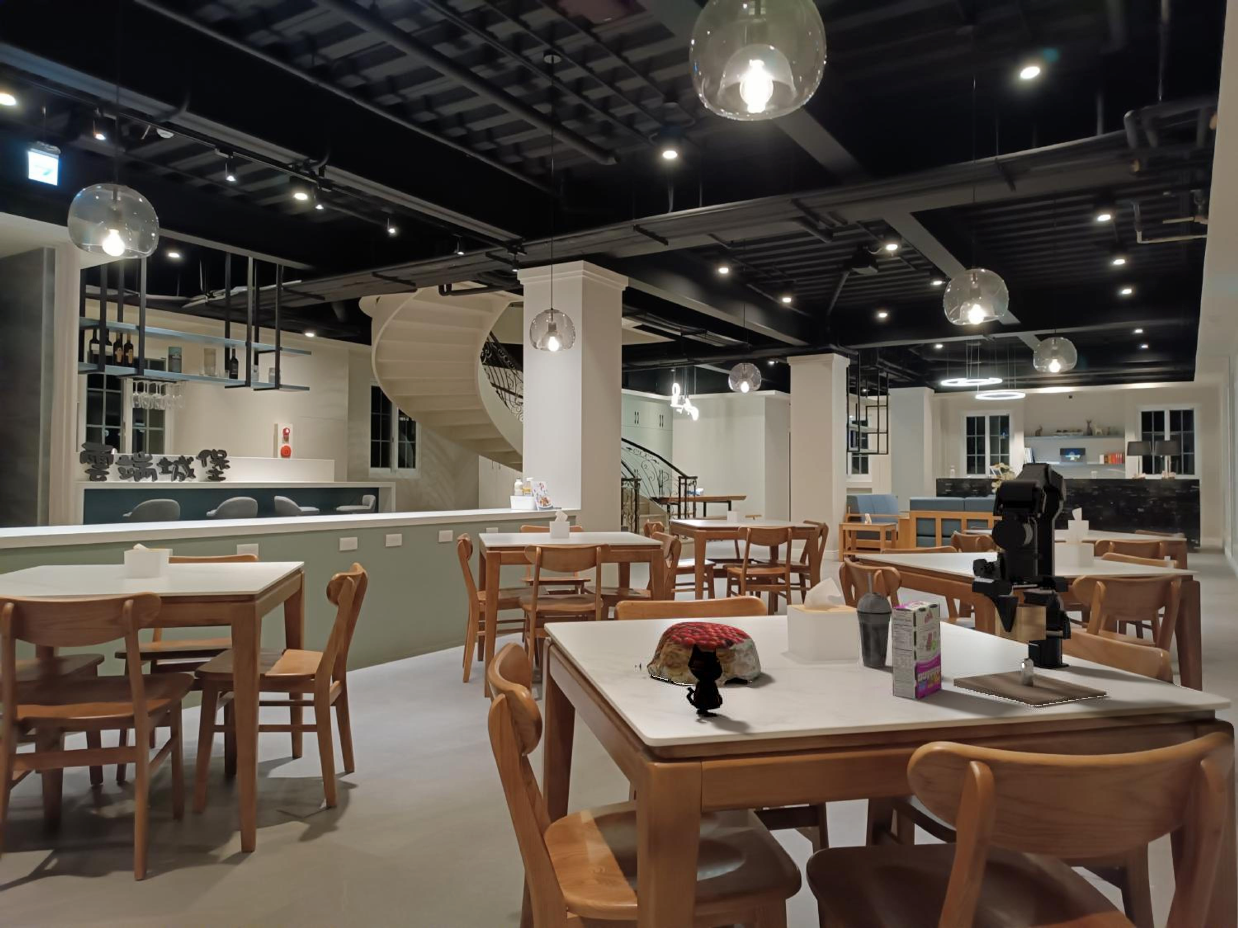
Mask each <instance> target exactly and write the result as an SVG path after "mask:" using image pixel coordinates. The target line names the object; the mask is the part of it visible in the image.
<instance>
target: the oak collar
mask: <svg viewBox="0 0 1238 928" xmlns="http://www.w3.org/2000/svg"><path fill="white" fill-rule="evenodd" d="M994 607H995V606H994ZM994 611H995V612H994V613H995V618H994V619H995V621H994V622H995V624H994V625H995V626H994V627H995V629H994V630H995V631H994V632H995V634H994V635H995V636H996V637H1000V638H1006V639H1009V640H1014V641H1020V642H1027V641H1028V642H1029V641H1031V640H1043V639H1046V607H1044V606H1038V605H1031V604H1025V603H1024V602H1019V601H1018V604H1017V609H1016V614H1015V619H1014V623H1013V627H1012V630H1011V632H1006V631H1005V630H1004V627H1003V625H1002V622H1001V619H1000V616H999V614H998V611H997V609H996V607H995V608H994Z"/></svg>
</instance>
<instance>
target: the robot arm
mask: <svg viewBox="0 0 1238 928" xmlns="http://www.w3.org/2000/svg"><path fill="white" fill-rule="evenodd" d="M1021 469H1022V470H1021V471H1019V473H1018V475H1017V476H1016V478H1014V479H1005V480H1002V481H1001V482H1000V483H999V484H1000V485H999V486H997V487H996V490H995V498H994V502H993V503H994V504H993V508H992V509H993V511H992V516H993V517H1001V519H1000V520H998V521H997V522H996V523H995V524H994V525H993V527H992V530H991V538H992V541H993V543H994V544H995V546H997V547H998V548H999V549H1002V551H997V556H996V560H992V561H988V560H987V559H986V558H976V559H974V560H973V561H972V574H973V575H974V576H975V578H973V580H972V581H971V593H976V594H982V595H983V597H986V598H988V599H989V600H990V601H991V602H992V604H993V605H994V607H996V609H997V611H998V614H999V616H1000V619H1001V622H1002V625H1003V627H1004V630H1005V631H1006V632H1011V630H1012V627H1013V623H1014V619H1015V614H1016V609H1017V604H1018V602H1019V599H1020V596H1017V595H1014V591H1019V590H1022V591H1021V593H1022V594H1023V596H1024V600H1023V603H1025V604H1031V605H1038V606H1044V607H1046V639H1043V640H1031V641H1028V643H1027V658H1029V659H1031V660H1032V661H1033V667H1034V666H1035V667H1038V668H1043V669H1047V670H1048V669H1049V670H1051V669H1059V668H1066V667H1067V668H1069V666H1070V663H1066V662H1063V640H1064V641H1066V640H1072V625H1071V620H1070V619H1071V618H1070V617H1069V616H1068V612H1067V610H1064V607H1065V606H1064V600H1063V599H1062V597H1061V596H1060V594H1059V593H1069V590H1070V589H1069V588H1070V587H1069V581H1068V580H1067V578H1066V577H1065V576H1061V575H1056V552H1055V551H1056V549H1055V548H1056V547H1055V546H1056V545H1055V543H1056V541H1055V540H1056V539H1055V538H1056V537H1055V535H1056V534H1055V533H1056V532H1055V531H1056V529H1055V527H1056V526H1055V524H1056V520H1057V517H1058V516H1059V515H1060V514H1061V512H1062V510H1063V508H1064V502H1066V500H1067V486H1066V483H1065V479H1064V476H1063V475H1061V474H1060V473H1059V472H1057V471H1055V470H1054V469H1053V468H1052V465H1051V463H1047V462H1026V463H1023V464H1022V467H1021Z"/></svg>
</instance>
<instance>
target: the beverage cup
mask: <svg viewBox="0 0 1238 928" xmlns="http://www.w3.org/2000/svg"><path fill="white" fill-rule="evenodd" d="M867 575H868V585H869V592H867V593H865V594H864V595H862V597H861V598H860V599H858V602H857V608H856V614H857V620H858V625H859V634H860V647H861V648H860V649H861V658H862V662H863V666H864V667H867V668H871V669H883V668H886V662H887V657H888V655H887V654H888V645H889V632H890V631H889V630H890V622H891V608H892V607H891V603H890V601H889V600H888V598H887V597H886V596H885V595H883V594H882V593H879V592H873V582H872V573H871V571H868V573H867Z"/></svg>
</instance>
